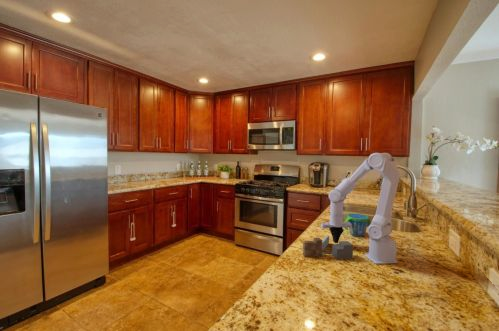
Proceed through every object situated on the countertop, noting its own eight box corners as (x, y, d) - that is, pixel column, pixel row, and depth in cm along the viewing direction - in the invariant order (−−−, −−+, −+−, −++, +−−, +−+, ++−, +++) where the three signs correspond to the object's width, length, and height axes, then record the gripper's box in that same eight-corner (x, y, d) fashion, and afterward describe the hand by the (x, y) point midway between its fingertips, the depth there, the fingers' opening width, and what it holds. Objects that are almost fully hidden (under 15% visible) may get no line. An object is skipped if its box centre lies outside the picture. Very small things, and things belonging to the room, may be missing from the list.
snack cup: (349, 238, 115) (350, 219, 114) (338, 231, 125) (339, 213, 125) (376, 237, 117) (377, 218, 117) (363, 230, 128) (364, 212, 127)
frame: (347, 251, 100) (347, 236, 99) (351, 255, 96) (352, 239, 96) (301, 253, 97) (302, 237, 97) (304, 257, 94) (305, 240, 94)
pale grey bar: (321, 252, 98) (321, 243, 98) (317, 251, 99) (317, 242, 99) (328, 243, 108) (329, 235, 108) (324, 242, 109) (324, 234, 109)
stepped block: (347, 254, 97) (347, 241, 97) (352, 258, 93) (353, 244, 93) (331, 255, 96) (332, 241, 96) (336, 259, 92) (337, 245, 92)
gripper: (346, 212, 111) (345, 238, 112) (318, 212, 110) (317, 239, 111) (354, 216, 104) (353, 244, 105) (324, 216, 103) (323, 245, 104)
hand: (335, 242), depth 107 cm, fingers closed
